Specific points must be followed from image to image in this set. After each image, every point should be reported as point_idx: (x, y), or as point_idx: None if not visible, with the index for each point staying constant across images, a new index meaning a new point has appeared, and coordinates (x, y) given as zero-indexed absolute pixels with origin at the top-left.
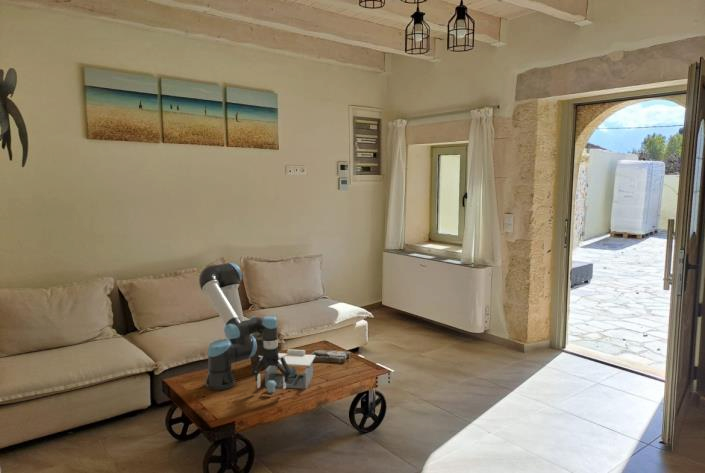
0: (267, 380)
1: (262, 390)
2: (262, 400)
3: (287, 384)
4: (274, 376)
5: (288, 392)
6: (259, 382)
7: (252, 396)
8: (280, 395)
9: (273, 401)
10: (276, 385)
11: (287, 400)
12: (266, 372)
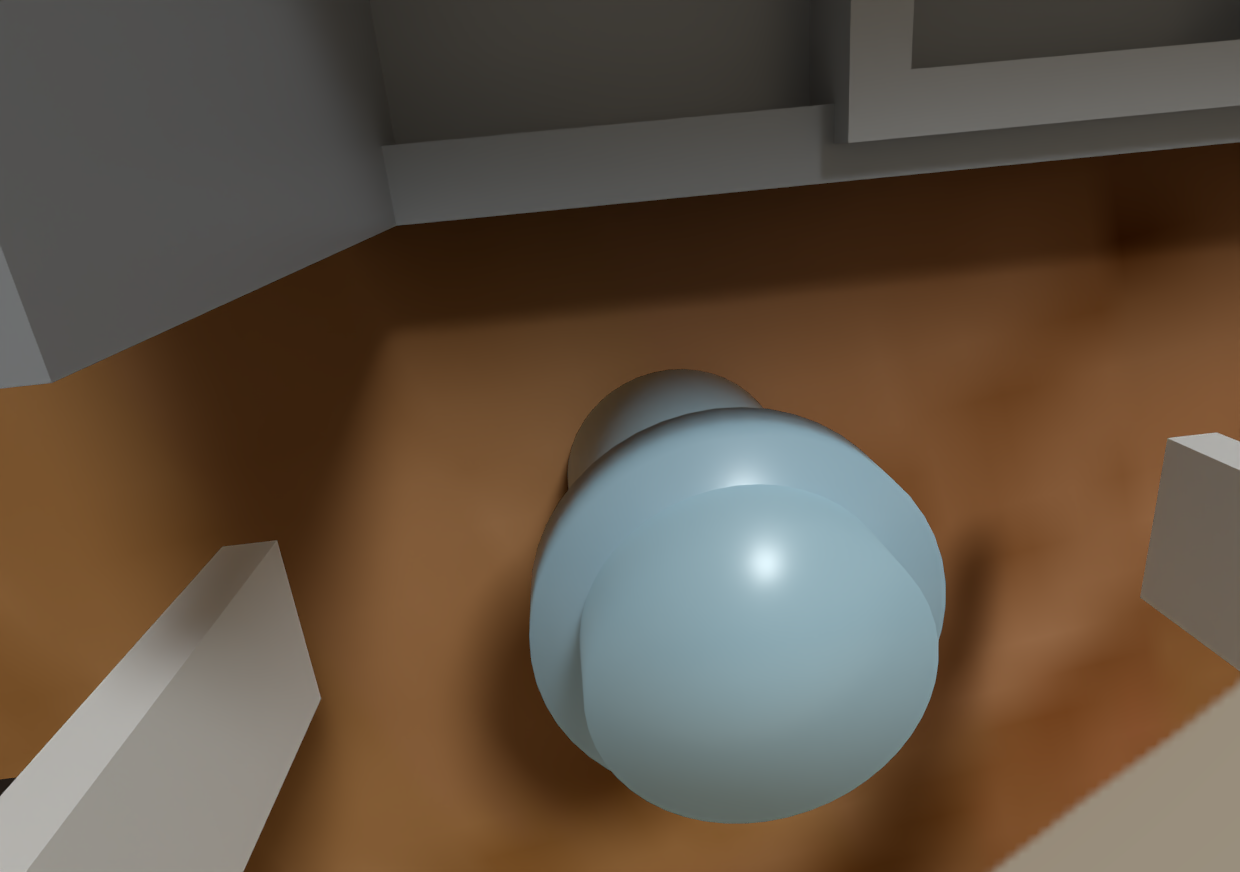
0: (349, 185)
1: (347, 385)
2: (622, 838)
3: (1200, 93)
4: None
5: (1127, 323)
6: (232, 752)
7: None
8: (951, 536)
9: (868, 811)
10: (762, 186)
11: (1151, 702)
12: (97, 337)
